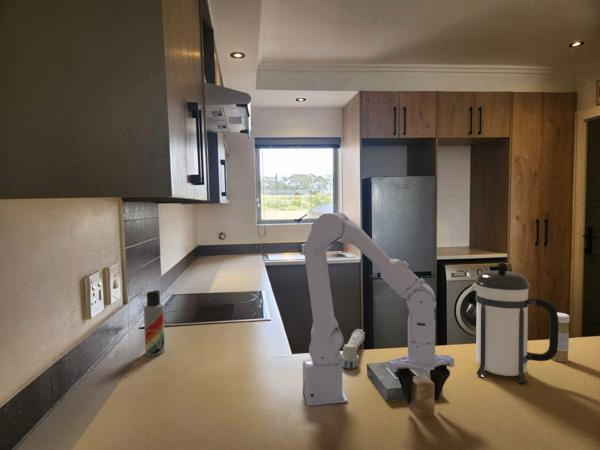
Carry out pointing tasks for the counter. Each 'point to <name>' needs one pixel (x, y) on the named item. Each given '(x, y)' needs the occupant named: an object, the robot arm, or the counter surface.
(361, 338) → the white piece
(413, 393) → the oak peg
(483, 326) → the coffee press
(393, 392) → the grey socket base
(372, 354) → the counter surface
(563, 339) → the sprinkles bottle
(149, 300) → the lotion bottle
